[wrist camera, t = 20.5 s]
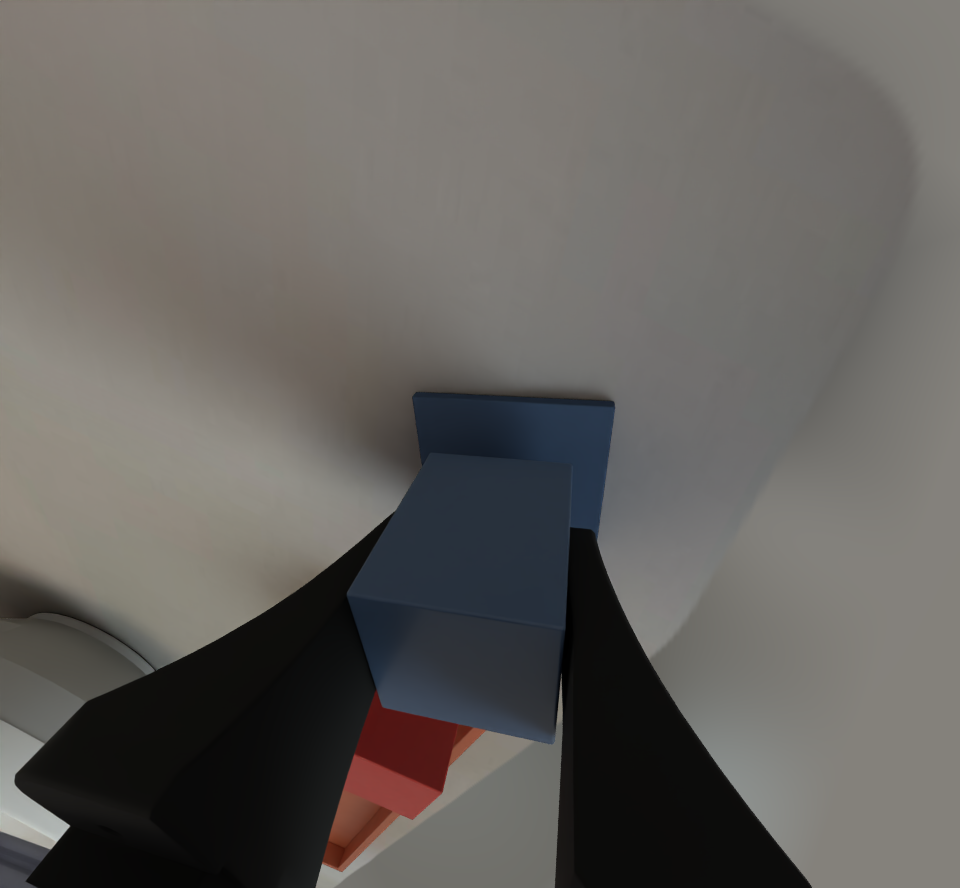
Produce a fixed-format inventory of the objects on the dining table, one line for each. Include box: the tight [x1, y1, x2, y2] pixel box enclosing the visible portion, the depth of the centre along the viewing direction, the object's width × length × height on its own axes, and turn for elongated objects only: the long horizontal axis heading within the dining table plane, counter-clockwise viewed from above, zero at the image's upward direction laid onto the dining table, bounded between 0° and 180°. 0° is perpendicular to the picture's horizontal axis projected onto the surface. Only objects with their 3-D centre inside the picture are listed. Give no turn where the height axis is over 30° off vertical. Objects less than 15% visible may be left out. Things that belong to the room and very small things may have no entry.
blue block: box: [347, 453, 573, 744], centre depth 10 cm, size 4×4×5 cm
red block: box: [343, 690, 459, 819], centre depth 18 cm, size 4×4×5 cm
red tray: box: [322, 724, 486, 872], centre depth 29 cm, size 41×8×2 cm, turn 158°
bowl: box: [0, 613, 155, 849], centre depth 27 cm, size 19×19×9 cm
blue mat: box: [412, 392, 615, 540], centre depth 14 cm, size 6×6×1 cm
